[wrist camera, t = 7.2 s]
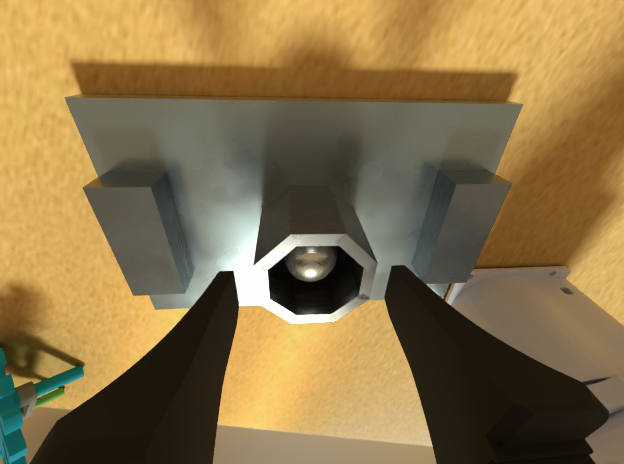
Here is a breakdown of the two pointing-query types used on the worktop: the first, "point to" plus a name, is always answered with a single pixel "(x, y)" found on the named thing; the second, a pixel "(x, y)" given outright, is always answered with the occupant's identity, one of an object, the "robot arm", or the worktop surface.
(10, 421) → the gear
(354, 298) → the collar
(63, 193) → the worktop surface
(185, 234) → the shaft mount
